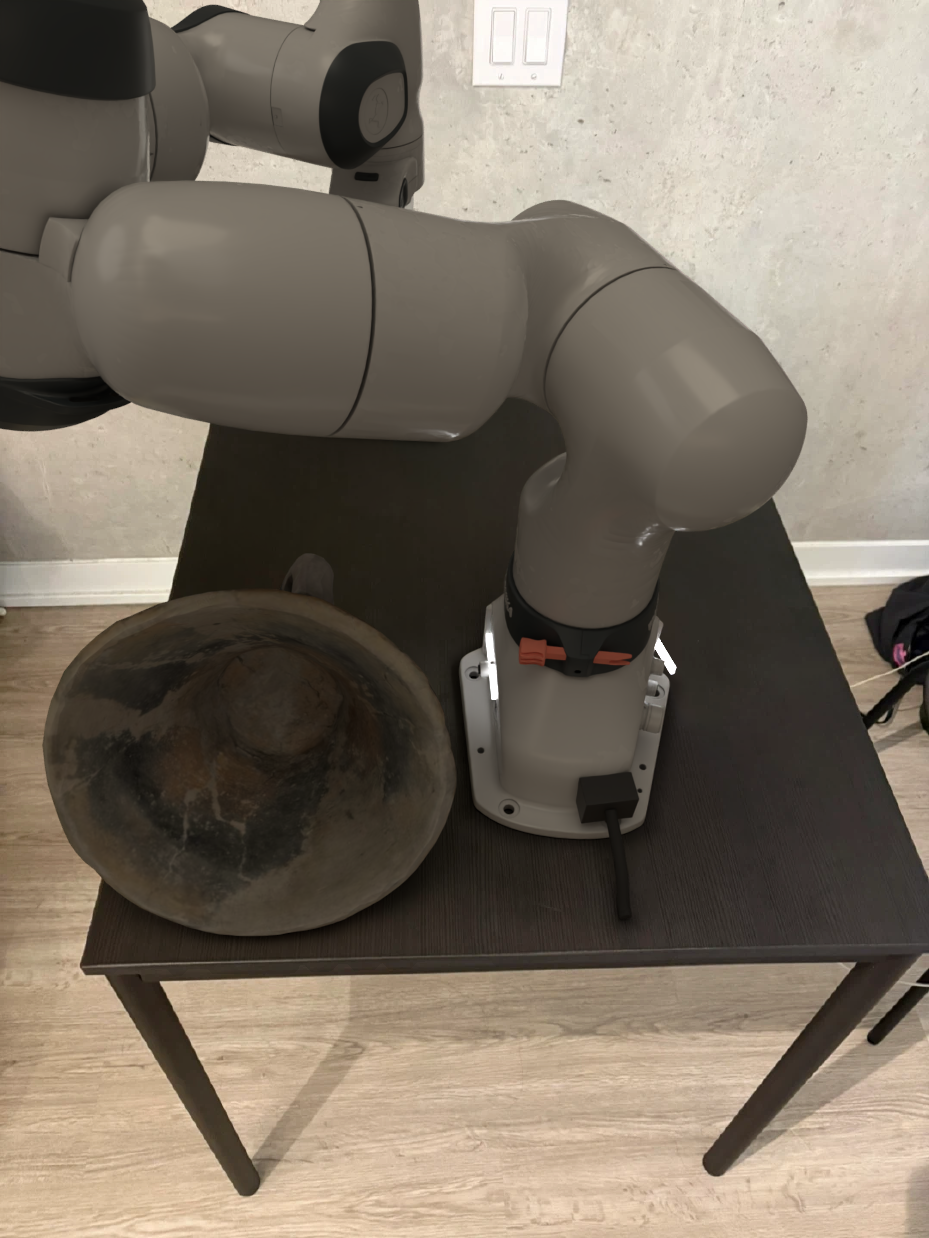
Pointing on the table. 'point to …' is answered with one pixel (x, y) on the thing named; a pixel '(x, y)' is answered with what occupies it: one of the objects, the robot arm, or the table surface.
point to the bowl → (249, 758)
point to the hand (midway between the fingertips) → (385, 297)
